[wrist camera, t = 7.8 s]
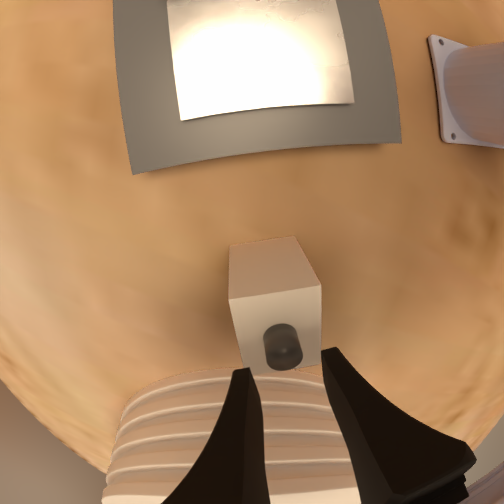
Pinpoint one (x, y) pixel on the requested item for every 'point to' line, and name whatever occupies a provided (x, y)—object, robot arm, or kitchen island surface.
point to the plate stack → (202, 424)
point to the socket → (251, 121)
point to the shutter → (257, 55)
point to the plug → (275, 305)
